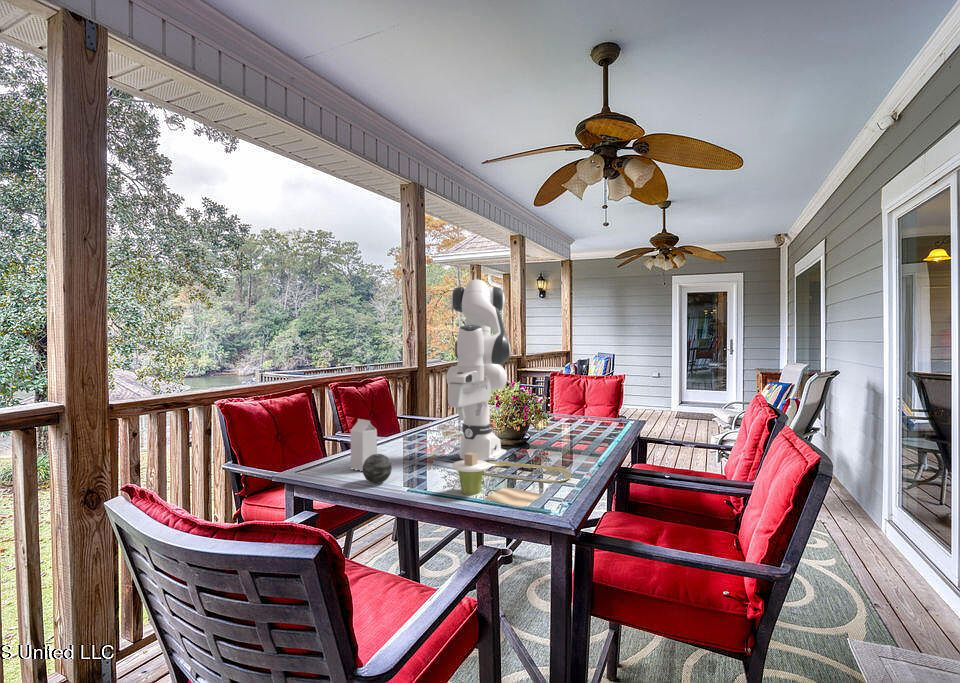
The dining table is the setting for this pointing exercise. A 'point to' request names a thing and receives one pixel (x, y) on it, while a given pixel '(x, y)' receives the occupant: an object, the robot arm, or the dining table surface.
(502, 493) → the mat
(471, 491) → the plant pot
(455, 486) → the dining table surface
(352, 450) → the milk carton
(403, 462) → the dining table surface
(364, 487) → the dining table surface
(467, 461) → the lid
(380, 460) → the decorative stone
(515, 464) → the oval gold ring
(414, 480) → the dining table surface
